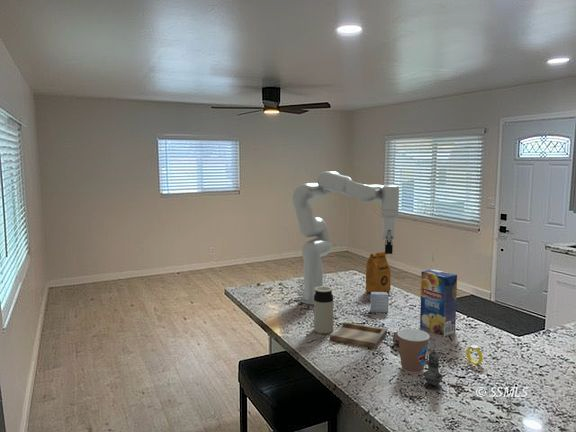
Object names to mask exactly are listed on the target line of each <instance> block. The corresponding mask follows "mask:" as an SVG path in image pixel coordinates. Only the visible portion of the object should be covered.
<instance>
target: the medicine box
mask: <svg viewBox="0 0 576 432" xmlns="http://www.w3.org/2000/svg"><path fill="white" fill-rule="evenodd" d="M388 293H389V292H371V293H370V312H371V313H389V294H388Z"/></svg>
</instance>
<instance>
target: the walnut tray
mask: <svg viewBox="0 0 576 432" xmlns="http://www.w3.org/2000/svg"><path fill="white" fill-rule="evenodd" d="M386 335H388V328H383V327H376V326H370V325H364V324H360V323H359V324H358V323H353V322H346V321H343V322H342V325H341V327H340V328H339V329H338V330H337V331H336V332H335V333H334V334H333V333H329V341H335V342H340V343H345V344H350V345H355V346H360V347H364V348H370V349H375V350H376V349H377V348H378V346H379V345H380V344H381V342H382V341H383V340H384V338H385V337H386Z"/></svg>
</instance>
